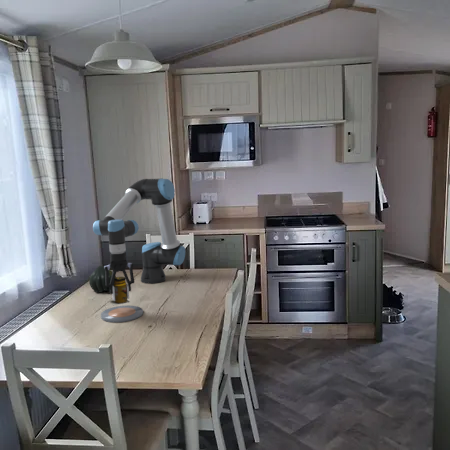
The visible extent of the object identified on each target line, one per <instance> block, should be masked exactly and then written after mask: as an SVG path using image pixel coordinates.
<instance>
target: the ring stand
mask: <svg viewBox="0 0 450 450" xmlns="http://www.w3.org/2000/svg"><path fill="white" fill-rule="evenodd" d="M143 315H144V310H143V308H142V307H140V306H137V305H127V304H125V305H118V306H117V305H116V306H114V307H110V308H106V309H104V311H102V312H101V313H100V319H101V320H103V321H104V322H108V323H124V322H125V323H127V322H131V321H134V320H137V319H139V318H140V317H142V316H143Z"/></svg>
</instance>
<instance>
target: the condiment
mask: <svg viewBox="0 0 450 450" xmlns="http://www.w3.org/2000/svg"><path fill="white" fill-rule="evenodd" d="M126 284H127V281H126V279H125V276H116V278H115V279H114V290H115V301H113V299H112V300H108V303H110V305H112V306H117V305H123V304H128V303H131V301H130V300H129V299H128V298H127V285H126Z"/></svg>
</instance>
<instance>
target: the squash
mask: <svg viewBox="0 0 450 450" xmlns="http://www.w3.org/2000/svg"><path fill="white" fill-rule="evenodd" d="M108 271H109V284H110V280H111V277H112V272H113V270H110V269H109V270H108ZM89 276H90V277H89V280H88V283H89V286H90V288H91V289H92V290H93V291H94V292H95V293H102V292H105V291H106V292H110V287H106V285H105V268H104V266H102V265H99V266H97V267H96V269H94V271H92V273H91V274H90V275H89ZM116 277H117V276H116V275H115V278H116ZM113 286H114V283H113Z"/></svg>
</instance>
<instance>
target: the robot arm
mask: <svg viewBox="0 0 450 450" xmlns="http://www.w3.org/2000/svg"><path fill="white" fill-rule="evenodd" d="M175 192H176V191H175V186H174V183H173V182H172V181H171V180H170V179H169V178H163V177H162V178H142V179H140V180H137V181H136V182H134V183H133V184H131V185H130V186H129V187H128V188H127V189H126V190H125V193H124V195H123V196H122V197H121V198H120V200H119V201H118V202H117V203H116V204H115V206H113V208H111V210H110V211H109V212H108V213H107V214H106V215H105V216H104V217H103V219H102V220H101V219H99V220H95V221H94V222H93V225H92V230H93V233H94V234H95V235H97V236H108V245H109V260H110V261H109V263H108V265H104V266H103V267H104V268H105V285H106V287H110V291H109V294H110V295H112V300H113V301H115V290H114V286H113V283H114V279H115V276H116V275H117V273H118V272H122V273H123V277H125V282H126V285H127V300H129V299H130V292H131V291H132V286H131V285H132V284H135V277H134V270H133V268H134V264H133V262H128V260H127V253H126V250H127V249H126V248H127V247H126V238H128V237H131V236H134V235H135V234H137V233H138V232H139V223H138V222H137V221H136V220H134V219H128V220H123V219H125V217H126V216H127V215H128V213H129V212H130V211H132V209H133V208H134V206H135V205H136V204H139V203H140V202H141V201H143V200H151V204H152V205H153V206H154V207H155V211H156V216H157V221H158V225H159V227H158V228H159V232H160V235H161V242H159V241H156V242H150V243H149V242H148V243H146V244H144V245H142V248H141V256H142V258H141V259H142V272H141V276H140V282H141V283H143V284H152V285H153V284H158V283H163V282H165V281H166V280H167V277H166V273H165V271H164V270H165V269H164V268H163V265H166V266H180V265H182V264H183V262H184V261H185V257H186V247H185V245H184V246H183V245H182V244H181V242H180V240H178V239H177V238H178V236H177V234H176V227H175V223H174V217H173V216H174V215H173V212H172V211H173V210H172V206H171V205H172V204H171V203H172V202H173V199H175V198H174V197H175V195H176V194H175ZM127 267H128V269H129V276H130V277H129V276H128V274H127V273H128V272H127V271H126V268H127ZM110 268H111V269H112V277H111V280H110V284H109V271H108V270H110ZM129 278H130V279H129Z"/></svg>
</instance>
